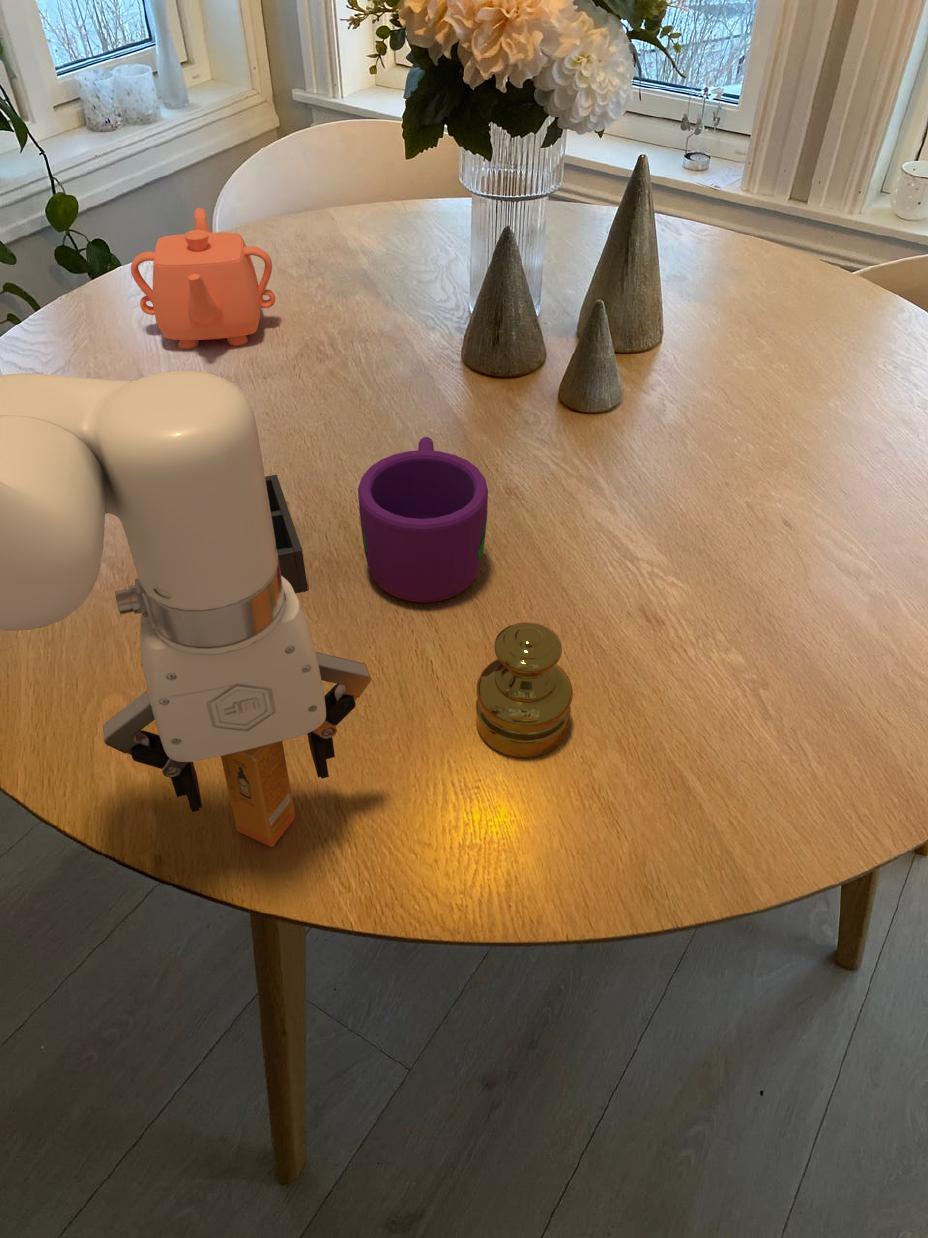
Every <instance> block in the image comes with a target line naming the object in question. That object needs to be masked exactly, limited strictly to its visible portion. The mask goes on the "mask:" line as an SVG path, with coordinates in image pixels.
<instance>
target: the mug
mask: <svg viewBox="0 0 928 1238" xmlns="http://www.w3.org/2000/svg"><path fill="white" fill-rule="evenodd" d="M357 496H358V497H357V498H358V507H359V509H358V510H359V520H360V529H361V536H362V543H363V551H364V555H365V559H366V560H365V561H366V563H367V566H368V569H369V572H370V574H371V575H372V578H373V580H374V581H375V583H376V584H377V585H378V586H379V587H380V588H381V589H382V590H383V591H384V592H386V593H387V594H389V595H392V596H393V597H394V598H398V599H401V600H404V601H408V602H414V603H432V602H439V601H443V600H447V599H450V598H453V597H454V596H457V595H459V594H461V593H463V591H465V590H466V589H467V588H469V587H470V586H471V585H472V583H473V581H475V578H476V577H477V575H478V573H479V572H480V568H481V564H482V560H483V554H484V548H485V542H486V534H487V533H486V531H487V523H488V521H487V520H488V506H489V505H488V503H489V489H488V484H487V480H486V478H485V476H484V475H483V473H482V472H481V471H480V469H479V468H478V467H477V465H474V464H473V463H472V462H470V461H469V460H468V459H465V458H463V457H461V456H459V455H456V454H452V453H450V452H449V453H448V452H445V451H440V450H435V447H434V442H433V439H432V438H431V437H428V436H423V437H421V438H420V440H419V442H418V448H417V450H416V449H415V450H407V451H403V452H399V453H398V452H397V453H394V454H392V455H389V456H386V457H384V458H382V459H380V460H377V462H375V463H373V464H372V465H370V466H369V468H368V469H367V470H366V471H365V472H364V474H363V475H362V476H361V479H360V482H359V484H358V487H357Z"/></svg>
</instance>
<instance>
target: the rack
mask: <svg viewBox="0 0 928 1238" xmlns="http://www.w3.org/2000/svg"><path fill="white" fill-rule="evenodd" d="M265 480H266V486H267V492H268V499H269V505H270V511H271V517H272V523H273V529H274V536H275V541H276V548H277V554H278V559H279V566H280V572H281V576H282V577H284V578H285V579H286V580H287V581H288V582H289V583H290V584H291V586H292V588H293V590H294V592H295V594H296V593H301V592H305V591H308V582H307V575H306V567H305V561H304V554H303V547H302V545H301V542H300V539H299V537H298V533H297V530H296V527H295V525H294V522H293V519H292V516H291V513H290V510H289V507H288V504H287V501H286V498H285V495H284V492H283V489H282V485H281V483H280V479H279V478H278V475H277V474H271V475H267V476H266V475H265Z"/></svg>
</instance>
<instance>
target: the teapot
mask: <svg viewBox="0 0 928 1238" xmlns="http://www.w3.org/2000/svg"><path fill="white" fill-rule="evenodd" d="M193 216H194V217H193V219H194V229H192V230H189V231H187V232H185V233H182V234H173V235H164V236H161V237H159V238H158V239H157V242H156V245H155V247H154V251H144V252H140V253H139V254H138V255H136V256H135V257H134V259H133V260H132V261H131V263H130V264H131V265H130V273H131V276H132V279H133V281H134V282H135V283H136V285H137V286H138V288H139V289H140V290H141V292H142V293H143V294H144V296H143V297H141V298H140V300H139V307H140V309H141V311H142V312H143V313H144V314H146V315H149V316H154V317H155V322H156V325H157V327H158V329H159V330H160V333H161V334H162V335H163V337H164V338H165V339H167V340H175V341H178V344H177V346H178V348H180V349H182V350H183V349H184V350H190V349H194V348H196V347H197V346H199V343H200V342H199V341H203V340H204V341H207V340H208V341H209V340H219V339H226V341H227V344H229V345H230V346H234V347H235V346H236V347H237V346H243V345H245V344H247V343H248V341H249V339H248V337H247V336H248V335H249V336H250V335H252V334H254V333H256V332H257V331H258V327H259V323H260V319H261V311H262V309H270V308H272V307H273V306H274V305H275V303H276V295H275V293H274V292H273V290H271V289H267V286H268V284H269V281H270V279H271V277H272V272H273V261H272V259H271V257H270V255H269V253H267V251H265V250H264V249H262V248H261V247H259V246H255V245H247V244H246V242H245V240H244V237H243V236H242V234H240V233H238V232H227V231H225V232H224V231H223V232H222V231H221V232H211V231H210V228H209V224H208V220H207V212H206V210H205V209H204V208H203V207H197V208H196V209H195V210H194V215H193ZM252 256H254V257H255V256H256V257H257V258H260V259H261V260H262V261H263V262H264V270H263V273H262V276H261V279H260V281H258V276H257V274H256V269H255V266H254V262H253V259H252ZM144 262H145V263H146V262H152V263H153V265H152V287H151V286H150V285H149V284H148V283H147V281H146V279H144V277H143V276H142V274H141V272H140V269H139V267H140V265H141V264H142V263H144ZM264 296H268V297H269V298H268V299H264ZM147 302H151V304H152V306H151V305H148V304H147Z"/></svg>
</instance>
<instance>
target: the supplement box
mask: <svg viewBox="0 0 928 1238" xmlns="http://www.w3.org/2000/svg"><path fill="white" fill-rule="evenodd" d="M220 759H221V763H222V767H223V773H224V776H225V777H224V778H225V782H226V785H227V786H226V787H227V790H228V795H229V800H230V804H231V809H232V814H233V819H234V822H235V827H236V828H235V829H236V830H237V832H239V833H241V834H242V835H245V836H247V837H249V838H250V839H252V840H255V841H257V842H259V843H261V844H263V845H265V846H267V847H270V848H274V846H275V845H276V844H277V842H278V841H279V840H280V838H281V837H282V836H283V835H284V833H285V832H286V831H287V830H288V828H289V827H290V826H291V824H292V823H293V822H294V821H295V819H296V813H295V806H294V801H293V796H292V788H291V783H290V778H289V773H288V767H287V761H286V755H285V750H284V744H283V741H280V742H276V743H272V744H268V745H264V746H260V747H256V748H252V749H248V750H244V751H240V752H236V753H231V754H227V755H223V756H220Z"/></svg>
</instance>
